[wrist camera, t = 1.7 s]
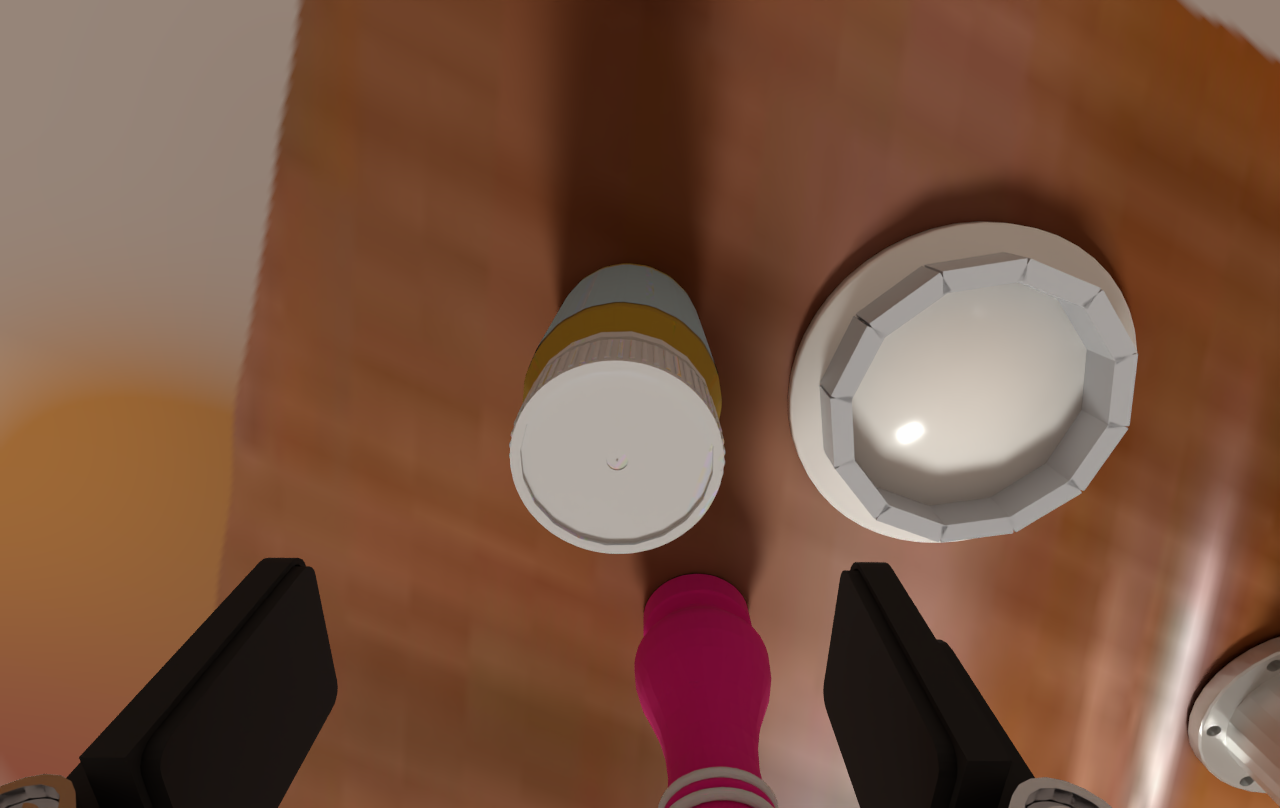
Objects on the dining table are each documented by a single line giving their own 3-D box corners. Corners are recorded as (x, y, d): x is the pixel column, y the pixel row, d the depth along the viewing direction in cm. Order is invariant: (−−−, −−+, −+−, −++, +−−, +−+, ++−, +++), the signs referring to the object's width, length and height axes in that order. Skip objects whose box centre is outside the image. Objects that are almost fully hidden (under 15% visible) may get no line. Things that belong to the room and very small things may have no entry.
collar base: (1177, 413, 33) (1225, 436, 31) (895, 583, 37) (916, 617, 34) (1025, 141, 29) (1066, 139, 26) (722, 368, 33) (729, 387, 30)
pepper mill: (680, 544, 36) (719, 946, 18) (780, 602, 38) (914, 1032, 19) (612, 629, 39) (582, 1068, 20) (709, 681, 40) (766, 1137, 21)
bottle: (603, 418, 34) (573, 601, 20) (533, 303, 32) (444, 416, 18) (721, 358, 33) (780, 506, 18) (657, 234, 30) (668, 296, 16)
